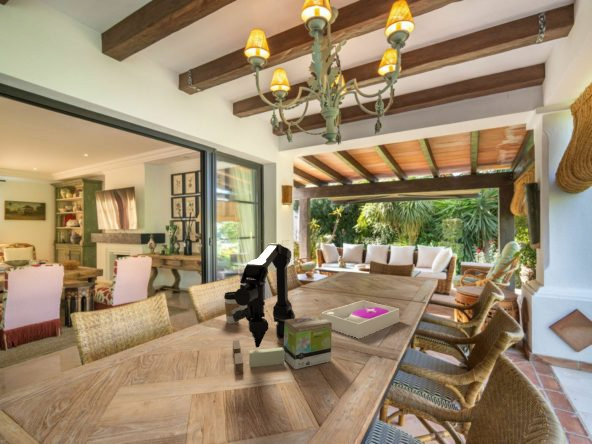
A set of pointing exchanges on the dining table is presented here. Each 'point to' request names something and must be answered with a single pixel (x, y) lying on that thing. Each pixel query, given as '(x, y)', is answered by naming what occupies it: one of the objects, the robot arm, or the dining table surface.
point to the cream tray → (361, 318)
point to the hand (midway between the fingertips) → (255, 342)
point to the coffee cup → (230, 306)
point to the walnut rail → (237, 357)
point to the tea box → (307, 341)
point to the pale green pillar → (266, 357)
